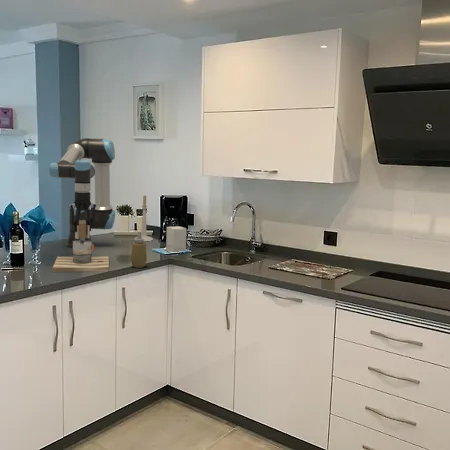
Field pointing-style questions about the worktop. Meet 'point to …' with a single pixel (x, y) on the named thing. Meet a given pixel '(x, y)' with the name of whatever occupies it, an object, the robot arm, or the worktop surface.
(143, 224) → the candlestick
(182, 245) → the supplement box
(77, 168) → the robot arm
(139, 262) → the squeeze bottle
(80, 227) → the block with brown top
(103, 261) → the base
